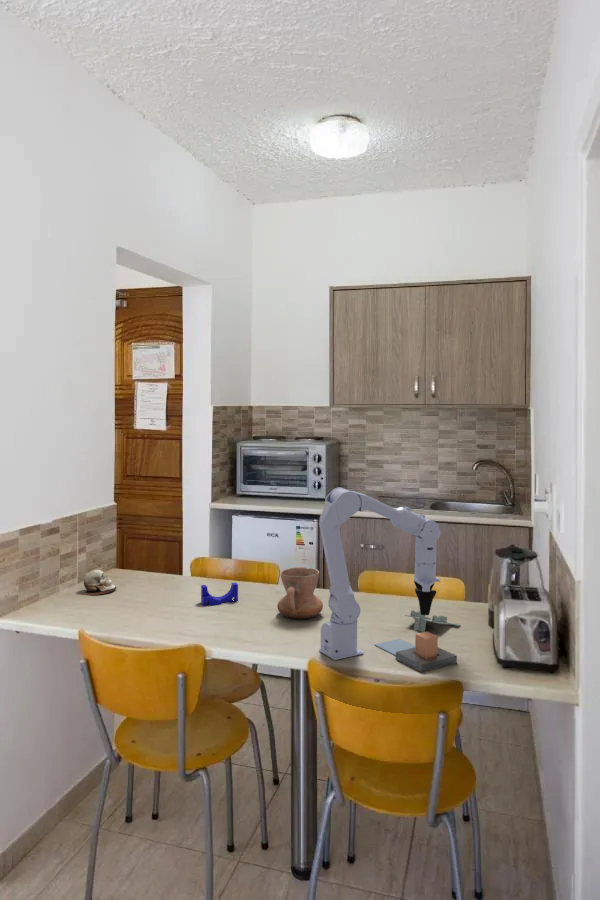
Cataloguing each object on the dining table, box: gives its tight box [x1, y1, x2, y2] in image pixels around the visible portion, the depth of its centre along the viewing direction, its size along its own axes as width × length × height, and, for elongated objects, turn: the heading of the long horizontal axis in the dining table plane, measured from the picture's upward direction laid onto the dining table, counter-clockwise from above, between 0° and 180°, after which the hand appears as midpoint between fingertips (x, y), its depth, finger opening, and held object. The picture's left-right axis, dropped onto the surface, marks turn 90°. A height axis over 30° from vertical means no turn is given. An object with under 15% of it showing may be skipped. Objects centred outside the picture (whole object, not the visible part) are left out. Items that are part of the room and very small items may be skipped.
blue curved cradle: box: [200, 582, 239, 607], centre depth 221 cm, size 12×4×6 cm, turn 109°
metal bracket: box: [404, 609, 462, 633], centre depth 199 cm, size 14×6×15 cm
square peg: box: [414, 631, 439, 659], centre depth 170 cm, size 4×4×7 cm
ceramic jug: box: [276, 566, 324, 620], centre depth 207 cm, size 18×14×14 cm
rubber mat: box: [374, 638, 415, 657], centre depth 180 cm, size 9×9×1 cm
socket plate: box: [395, 646, 458, 674], centre depth 170 cm, size 12×10×2 cm
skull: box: [83, 569, 117, 596], centre depth 233 cm, size 12×10×10 cm
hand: (424, 610), depth 181 cm, fingers open, 7 cm apart
